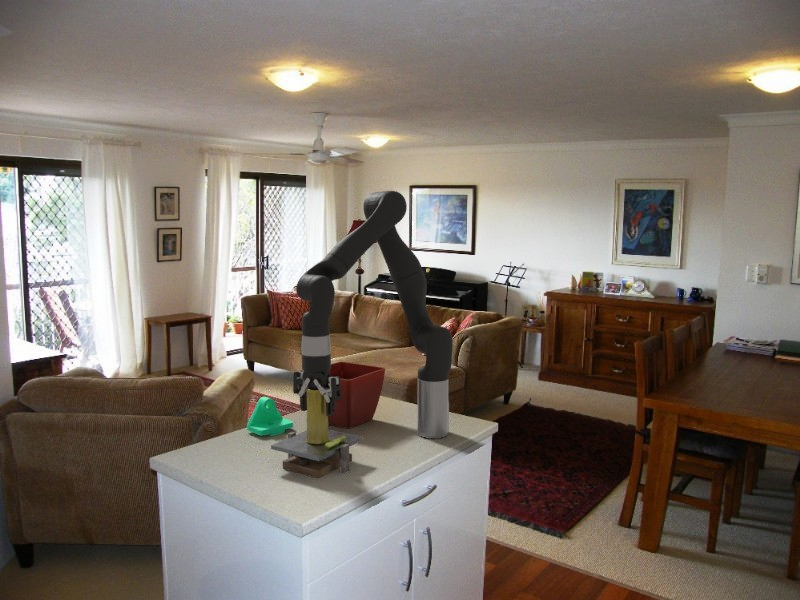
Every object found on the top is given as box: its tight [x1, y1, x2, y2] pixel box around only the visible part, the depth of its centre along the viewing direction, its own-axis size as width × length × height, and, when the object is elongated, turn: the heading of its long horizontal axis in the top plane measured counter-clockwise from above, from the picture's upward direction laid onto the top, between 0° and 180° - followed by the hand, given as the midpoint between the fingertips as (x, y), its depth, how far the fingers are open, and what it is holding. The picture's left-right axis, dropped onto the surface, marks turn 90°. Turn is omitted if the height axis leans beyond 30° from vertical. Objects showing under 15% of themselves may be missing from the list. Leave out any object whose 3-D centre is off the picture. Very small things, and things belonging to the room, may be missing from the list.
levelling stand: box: [282, 431, 353, 479], centre depth 174 cm, size 14×19×7 cm
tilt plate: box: [270, 428, 363, 461], centre depth 173 cm, size 18×16×3 cm
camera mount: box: [246, 396, 294, 437], centre depth 201 cm, size 12×8×10 cm, turn 135°
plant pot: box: [328, 361, 386, 429], centre depth 211 cm, size 19×19×17 cm
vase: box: [306, 387, 329, 444], centre depth 173 cm, size 6×6×14 cm
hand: (317, 412), depth 173 cm, fingers open, 8 cm apart
